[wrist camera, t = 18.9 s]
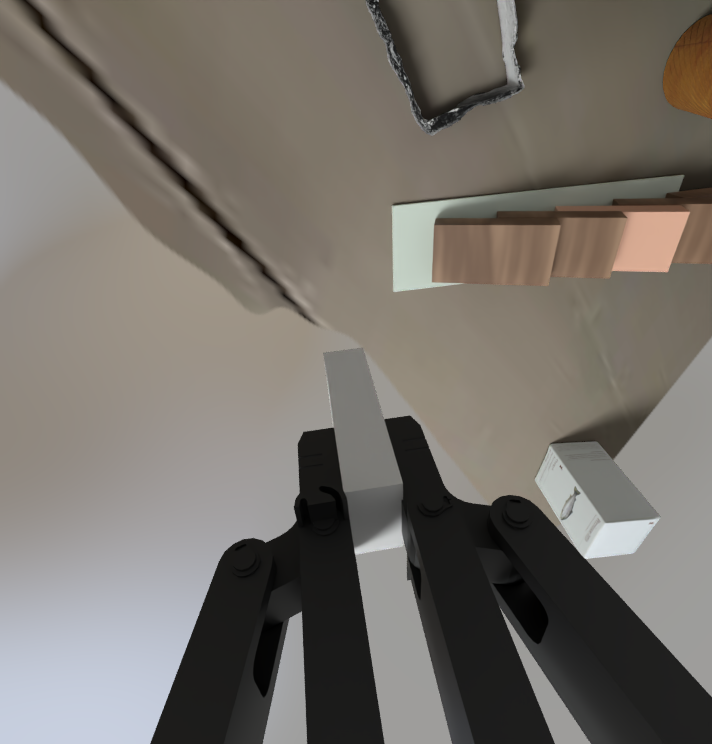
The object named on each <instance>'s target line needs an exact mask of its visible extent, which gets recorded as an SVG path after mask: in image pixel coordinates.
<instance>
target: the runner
mask: <svg viewBox="0 0 712 744" xmlns="http://www.w3.org/2000/svg"><path fill="white" fill-rule="evenodd" d="M683 178H684V175H673V176H663V177H654V178H645V179H635V180H626V181H616V182H607V183H598V184H588V185H579V186H569V187H560V188H550V189H541V190H532V191H522V192H513V193H503V194H494V195H485V196H475V197H466V198H456V199H447V200H437V201H428V202H419V203H409V204H400V205H392V241H393V291H394V292H398V291H406V290H414V289H423V288H431V287H439V286H447V285H455V284H464V283H434V282H432V263H433V237H434V223H435V219H436V218H496V217H497V211H555V206H612V203H613V199H639V198H665V197H666V194H667V193H670V192H678V191H679V189H680V186H681V183H682V180H683Z"/></svg>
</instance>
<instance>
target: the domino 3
mask: <svg viewBox="0 0 712 744" xmlns="http://www.w3.org/2000/svg"><path fill="white" fill-rule="evenodd" d="M555 211H622V213H623V214H624V215H625V216H626V217H627V221H626V224H625V228H624V231H623V235H622V238H621V241H620V245H619V248H618V251H617V255H616V258H615V262H614V265H613V268H612V271H642V272H668V270H669V267H670V264H671V262H672V259H673V256H674V254H675V251H676V248H677V246H678V243H679V240H680V238H681V235H682V232H683V230H684V227H685V224H686V222H687V219H688V216H689V214H690V211H688V210H687V209H686V208H684V207H683V206H681V205H646V206H555Z"/></svg>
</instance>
